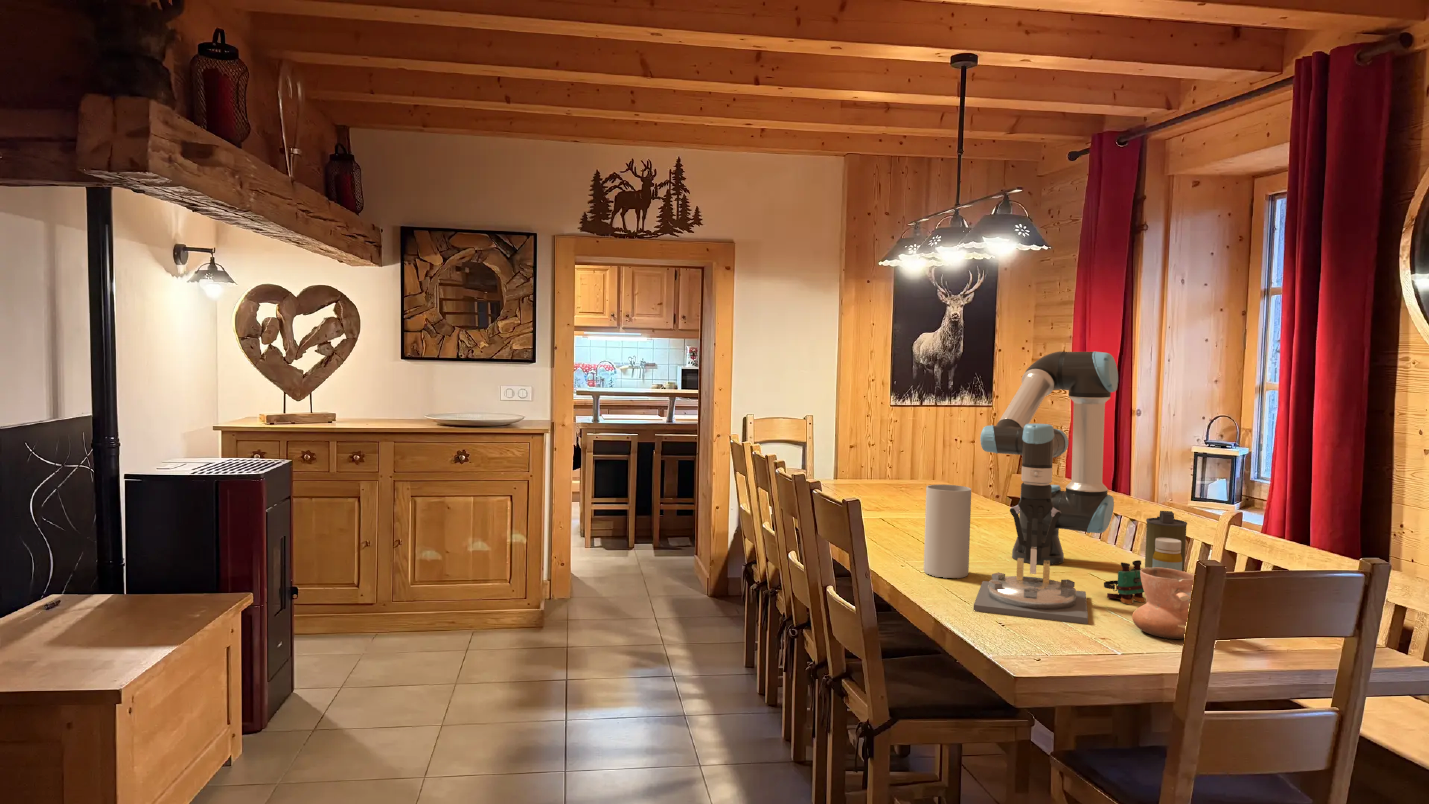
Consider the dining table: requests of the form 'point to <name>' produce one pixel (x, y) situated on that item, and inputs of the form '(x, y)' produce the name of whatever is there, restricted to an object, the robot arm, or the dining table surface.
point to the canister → (1164, 534)
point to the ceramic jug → (1164, 602)
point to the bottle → (1167, 554)
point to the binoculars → (1127, 584)
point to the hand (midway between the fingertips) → (1033, 572)
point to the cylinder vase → (947, 531)
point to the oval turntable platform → (1032, 590)
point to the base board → (1067, 615)
